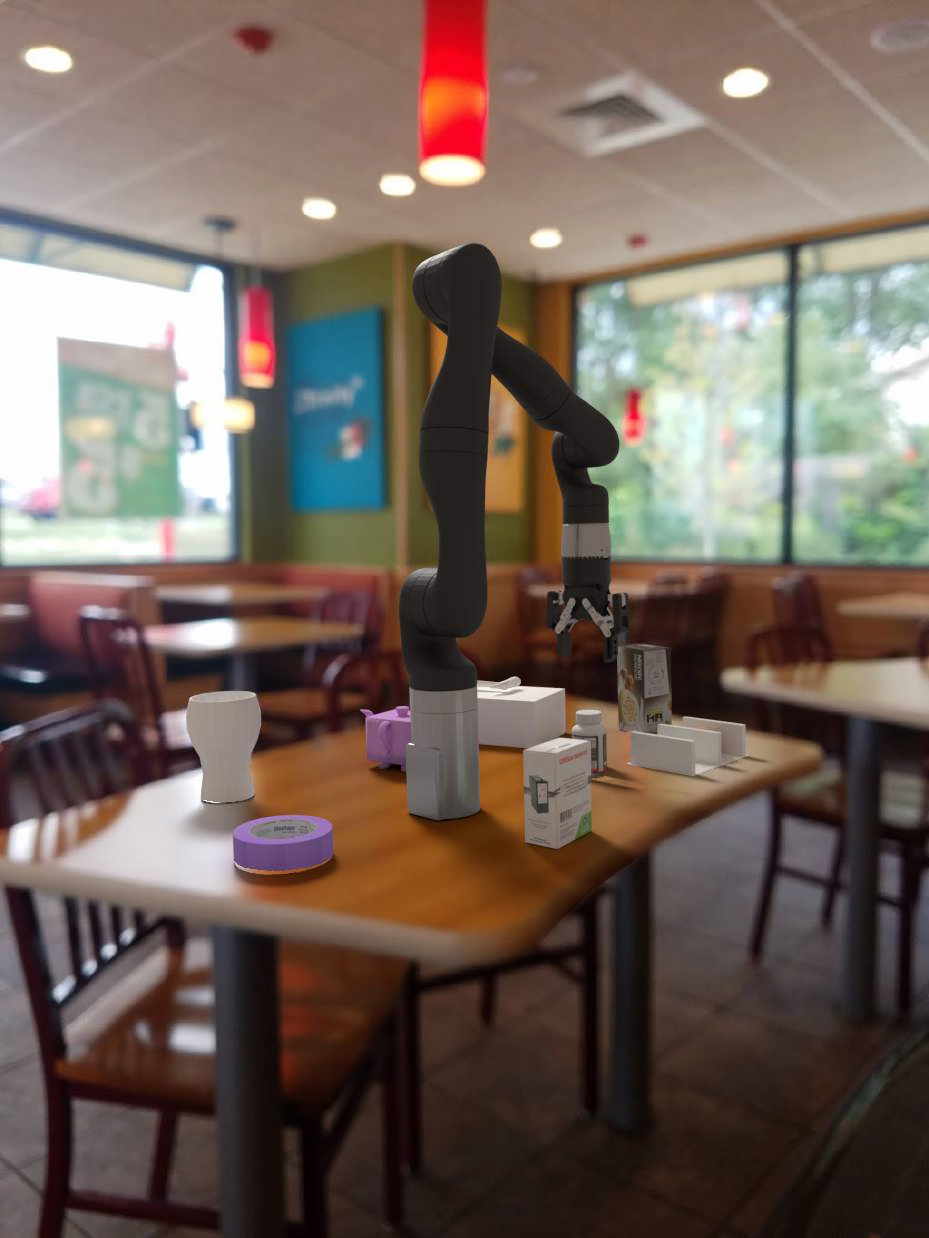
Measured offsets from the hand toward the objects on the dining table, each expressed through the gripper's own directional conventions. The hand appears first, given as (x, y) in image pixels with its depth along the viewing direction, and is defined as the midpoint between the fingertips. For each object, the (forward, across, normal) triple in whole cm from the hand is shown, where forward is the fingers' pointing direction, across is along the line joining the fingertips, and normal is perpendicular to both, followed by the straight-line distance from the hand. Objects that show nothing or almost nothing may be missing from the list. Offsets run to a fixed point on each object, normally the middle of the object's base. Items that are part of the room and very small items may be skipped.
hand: (587, 659), depth 148 cm
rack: (+18, +9, +14) cm, 25 cm away
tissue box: (+18, -32, +11) cm, 38 cm away
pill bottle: (+18, 0, 0) cm, 18 cm away
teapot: (+18, -27, -14) cm, 35 cm away
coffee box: (+18, -11, +31) cm, 38 cm away
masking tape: (+19, -4, -54) cm, 57 cm away
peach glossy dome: (+17, +9, +18) cm, 26 cm away
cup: (+18, -33, -44) cm, 58 cm away
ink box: (+18, +16, -27) cm, 36 cm away
